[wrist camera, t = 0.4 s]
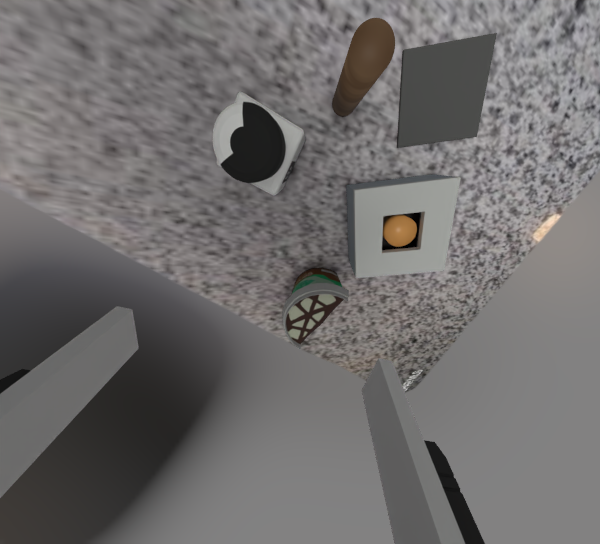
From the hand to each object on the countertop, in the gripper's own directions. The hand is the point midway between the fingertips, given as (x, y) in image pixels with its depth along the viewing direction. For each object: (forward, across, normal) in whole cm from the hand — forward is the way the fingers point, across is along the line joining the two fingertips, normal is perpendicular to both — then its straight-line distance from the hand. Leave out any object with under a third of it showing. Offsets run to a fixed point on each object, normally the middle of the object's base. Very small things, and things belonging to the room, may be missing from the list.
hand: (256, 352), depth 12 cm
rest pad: (+27, +15, +20) cm, 37 cm away
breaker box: (+27, +14, +4) cm, 30 cm away
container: (+27, -5, +10) cm, 29 cm away
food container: (+27, +5, -10) cm, 29 cm away
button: (+23, +14, +4) cm, 27 cm away
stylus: (+27, +3, +17) cm, 32 cm away
